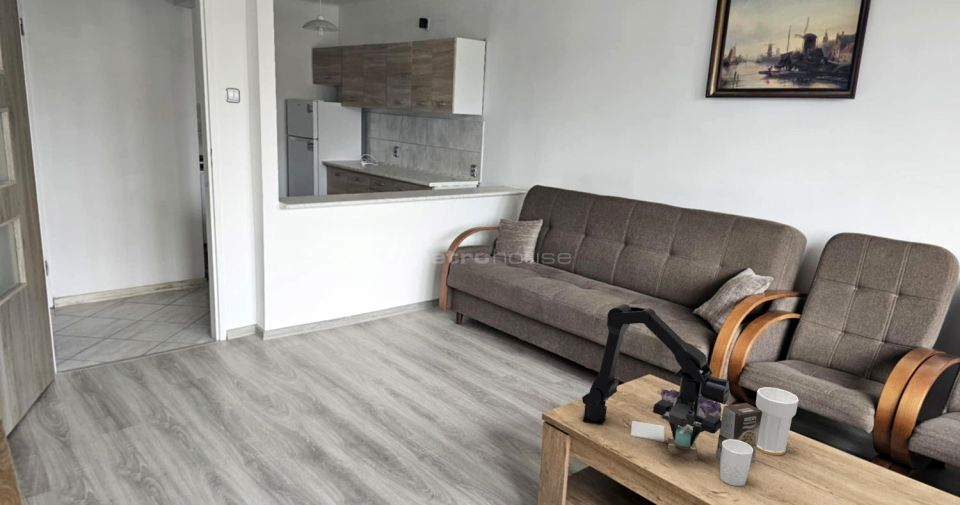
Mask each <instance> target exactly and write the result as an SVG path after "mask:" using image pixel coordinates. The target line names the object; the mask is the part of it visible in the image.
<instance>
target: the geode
mask: <svg viewBox="0 0 960 505" xmlns="http://www.w3.org/2000/svg"><path fill="white" fill-rule="evenodd" d="M660 396H661V397H660V398H661V399H664V400H667V401H670V402H673V406H674V405H675V403H676V401H677V397H678V396H679V391H677V390H676V389H673V388H672V389H670V390H667V389H661V392H660ZM700 396H701V399H700V400H699V406H698V409H699V413H697V415H698V416H701V417H706V416H707V415H711V416H714V417H717V418H720V420H722V411H723V409H722V404H721V403H718V402H714V401H711V400H708V399H705V398H704V397H702V394H700ZM664 415H665V414H664ZM664 415H662V417H663V416H664ZM689 425H690V426H692V427H694V426H695V425H696V422H694V423H693V424H689Z"/></svg>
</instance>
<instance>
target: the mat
mask: <svg viewBox="0 0 960 505" xmlns="http://www.w3.org/2000/svg"><path fill="white" fill-rule="evenodd" d="M630 428H631V430H630V437H633V438H634V437H635V438H640V439H645V440H650V441H657V442H663V443H665V425H661V424H660V425H659V424H654V423H648V422H643V421H642V422H641V421H635V420H631V427H630Z"/></svg>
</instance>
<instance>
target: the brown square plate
mask: <svg viewBox="0 0 960 505" xmlns="http://www.w3.org/2000/svg"><path fill="white" fill-rule="evenodd" d="M697 450H698V449H697V442H694V444H693V445H692V446H689V447H683V446H680V445H678V444H676V443H675V440H674V439H673V438H670V437H669V438H667V455H668V456H669V457H675V458H681V459H687V460H691V461H698V451H697Z"/></svg>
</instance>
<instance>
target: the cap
mask: <svg viewBox="0 0 960 505" xmlns="http://www.w3.org/2000/svg"><path fill="white" fill-rule="evenodd" d="M692 433H693V429H692V428H691V425H690V424H686V426H685V427H681V426H679V425H678V427H677V428H676V435H675V443H676V444H678V445H680V446H683V447H689V446H690V443H691V438H692Z"/></svg>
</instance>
